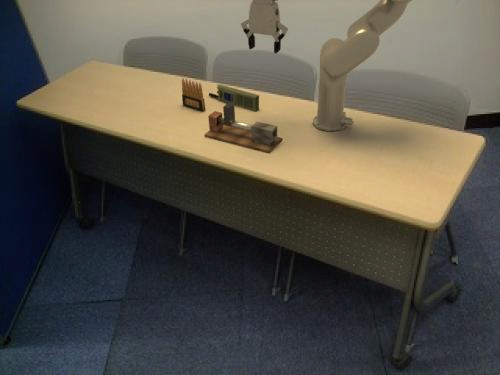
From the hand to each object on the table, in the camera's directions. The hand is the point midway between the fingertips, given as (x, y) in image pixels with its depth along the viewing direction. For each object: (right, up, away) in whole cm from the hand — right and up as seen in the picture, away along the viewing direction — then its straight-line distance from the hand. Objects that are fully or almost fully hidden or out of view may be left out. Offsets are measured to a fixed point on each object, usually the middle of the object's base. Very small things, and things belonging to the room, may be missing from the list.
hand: (264, 50), depth 165 cm
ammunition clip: (-28, -15, +29) cm, 43 cm away
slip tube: (-9, -26, +6) cm, 29 cm away
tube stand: (-7, -30, +7) cm, 32 cm away
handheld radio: (-12, -13, +32) cm, 36 cm away
